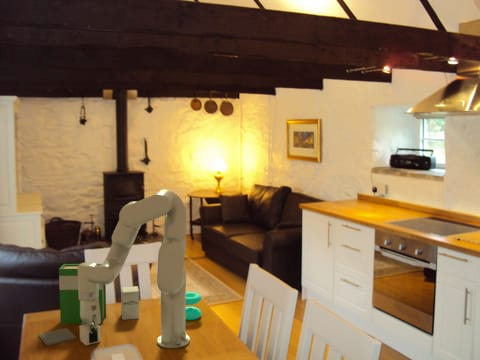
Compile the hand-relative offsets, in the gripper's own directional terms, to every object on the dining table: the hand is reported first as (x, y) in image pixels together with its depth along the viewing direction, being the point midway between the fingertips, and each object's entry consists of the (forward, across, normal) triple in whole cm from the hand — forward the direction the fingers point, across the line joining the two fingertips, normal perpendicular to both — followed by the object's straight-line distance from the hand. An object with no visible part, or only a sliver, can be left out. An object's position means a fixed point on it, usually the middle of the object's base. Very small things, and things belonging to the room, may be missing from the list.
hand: (90, 338), depth 196 cm
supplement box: (+1, +14, -24) cm, 28 cm away
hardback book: (+1, +22, -6) cm, 23 cm away
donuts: (+2, -2, -45) cm, 45 cm away
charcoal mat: (+1, +11, +9) cm, 15 cm away
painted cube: (+1, 0, 0) cm, 1 cm away
